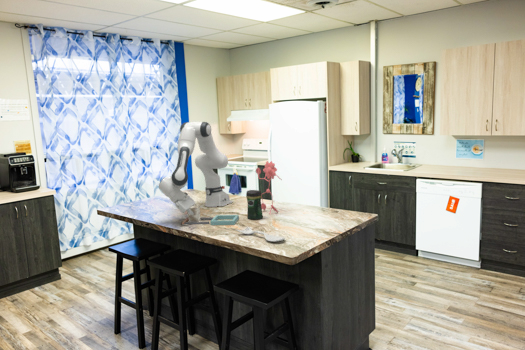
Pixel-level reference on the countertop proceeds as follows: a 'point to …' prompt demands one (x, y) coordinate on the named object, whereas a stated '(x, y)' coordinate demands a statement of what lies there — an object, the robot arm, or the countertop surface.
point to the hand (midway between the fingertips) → (195, 213)
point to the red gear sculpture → (269, 173)
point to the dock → (224, 222)
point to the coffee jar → (254, 204)
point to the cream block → (196, 214)
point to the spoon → (267, 236)
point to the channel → (198, 222)
